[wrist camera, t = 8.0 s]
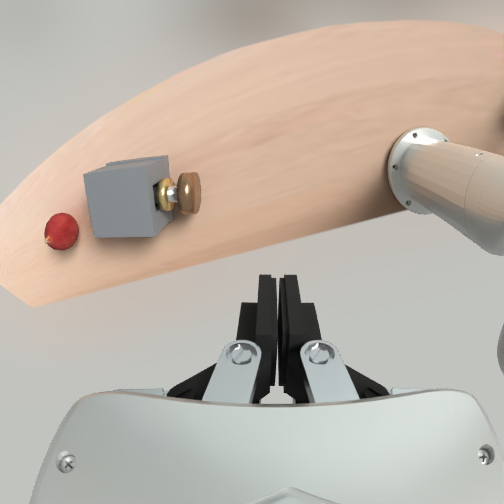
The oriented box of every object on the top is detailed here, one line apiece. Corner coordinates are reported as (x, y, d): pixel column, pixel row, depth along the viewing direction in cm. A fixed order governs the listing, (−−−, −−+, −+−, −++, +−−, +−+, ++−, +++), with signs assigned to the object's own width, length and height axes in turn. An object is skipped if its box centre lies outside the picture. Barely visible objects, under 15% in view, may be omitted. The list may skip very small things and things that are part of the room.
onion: (82, 245, 41) (55, 267, 33) (59, 227, 39) (31, 247, 32) (91, 218, 38) (62, 238, 31) (67, 200, 37) (36, 216, 30)
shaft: (199, 169, 33) (189, 176, 29) (202, 207, 36) (192, 219, 31) (113, 176, 34) (95, 185, 30) (118, 210, 36) (101, 222, 32)
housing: (167, 155, 34) (145, 163, 27) (173, 218, 38) (155, 239, 31) (111, 162, 34) (83, 171, 28) (119, 220, 38) (95, 239, 32)
